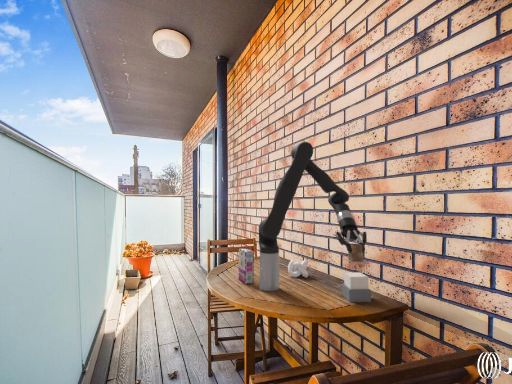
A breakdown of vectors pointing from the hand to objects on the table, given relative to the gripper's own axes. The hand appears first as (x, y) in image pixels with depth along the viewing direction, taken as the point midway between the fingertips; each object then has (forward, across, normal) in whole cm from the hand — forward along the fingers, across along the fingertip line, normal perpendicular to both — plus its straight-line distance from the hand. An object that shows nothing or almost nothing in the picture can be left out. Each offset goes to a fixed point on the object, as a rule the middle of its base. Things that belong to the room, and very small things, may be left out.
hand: (356, 251), depth 107 cm
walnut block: (+2, 0, +4) cm, 5 cm away
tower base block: (+13, 0, +16) cm, 20 cm away
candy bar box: (-4, -49, +32) cm, 59 cm away
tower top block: (+9, 0, +12) cm, 15 cm away
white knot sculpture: (-11, -20, +40) cm, 46 cm away
